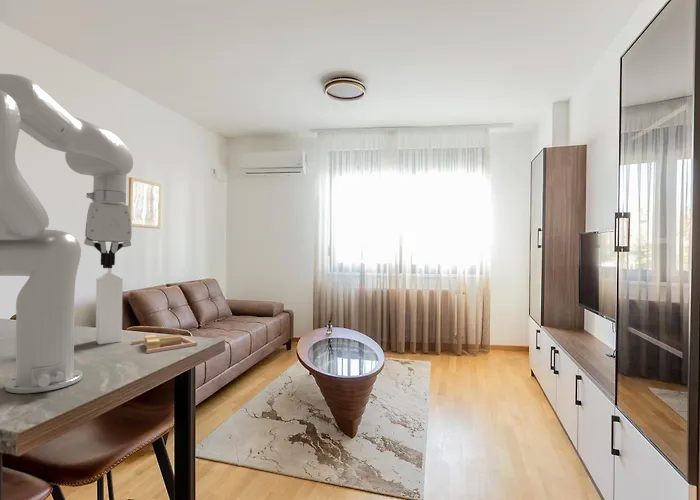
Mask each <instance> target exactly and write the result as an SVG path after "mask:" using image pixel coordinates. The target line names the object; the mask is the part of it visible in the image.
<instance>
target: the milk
mask: <svg viewBox="0 0 700 500" xmlns="http://www.w3.org/2000/svg"><path fill="white" fill-rule="evenodd" d="M95 285H96V288H95V289H96V291H95V294H96V296H95V298H96V299H95V301H96V302H95V303H96V304H95V308H96V309H95V342H96V343H97V344H98V345H104V344H105V345H106V344H112V343H113V344H114V343H122V342H123V285H124V284H123V278H122V277H120V276H118V275H115V274H114V273H112V268H107V271H106V273H104V274H102V275H99V276H98V277H97V278H96V284H95Z"/></svg>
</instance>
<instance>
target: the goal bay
mask: <svg viewBox="0 0 700 500" xmlns="http://www.w3.org/2000/svg"><path fill="white" fill-rule="evenodd" d="M179 335H180V336H181V342H184V343H181V344H179V345H173V346H166V347H160V348H153V349H146V351H145V353H146V354H150V353H151V354H152V353H153V354H154V353H157V352H165V351H169V350H177V349H182V348H187V347H193V346H194V347H195V346H198V342H197V341H195V340H192V339H190V338H188V337H186V336H183V335H181V334H179ZM138 344H139V345H140V344H144V338H143V339H138V340H131V345H138Z"/></svg>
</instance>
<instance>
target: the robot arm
mask: <svg viewBox="0 0 700 500" xmlns="http://www.w3.org/2000/svg"><path fill="white" fill-rule="evenodd" d="M20 130H21V131H23V132H24V133H25V134H27V135H28V136H30V137H31V138H33V139H34V140H36V141H37V142H38V143H40V144H41V145H43V146H45V147H46V148H49V149H52V150H56V151H59V152H62V153H65V154H64V155H65V157H64V159H65V161H66V164H67V165H68V166H67V167H68V168H70V169H71V170H72V171H73V172H75V173H77V174H80V175H85V176H91V177H92V178H93V184H92V185H93V188H92V192H86V198H87V199H90V200H91V202H89V206H88V209H87V213H86V219H85V221H86V222H85V231H84V233H85V239H84V241H83V243H84V245H86V246H88V247H89V246H90V247H94V248H95V249H96V250H97V251H98V252H99V253H100V266H102V268H103V269H108V268H111V269H112V268H113V266H115V265H116V262H115V261H116V253H117V252H118V251H119V250H121V249H122V248H126V247H130V246H132V241H131V240H132V235H133V234H132V232H133V231H132V229H133V228H132V216H131V215H132V214H131V209H130V206H129V204H128V205H127V204H126V203H127V174H129V173H131V171H132V170H133V166H134V159H133V158H134V157H133V155H132V153H131V150H130V149H129V147H128V146H127V145H126V144H125V142H123V141H122V140H121V138H119V137H118V136H117V135H115V134H114V133H113V132H111V131H109V130H108V129H105V128H103V127H100V126H98V125H95V124H93V123H90V122H89V121H86V120H84V119H81V118H78V117H76V116H73V115H71V113H69V112H68V111H67V110H66V109H65V108H64V107H62V105H60V104H59V103H58V102H57V101H56V100H55V99H53V97H52V96H51V95H49V94H48V93H47V92H46V91H45V90H44V89H43V88H42V87H40V86H39V84H37V83H36V82H34V81H33V80H31V79H29V78H27V77H26V76H25V77H24V76H23V75H19V74H18V75H17V74H14V73H13V74H11V73H0V276H4V277H5V276H7V277H10V276H11V277H16V276H17V277H29V278H28V279H27V281H26V282H25V283H24V285H23V286H22V287H21V289H20V291H19V292H18V295H17V297H16V304H15V314H16V315H15V377H12V378H10V379H9V380H8V381H6V382H5V384H4V390H5V391H6V392H9V393H12V394H33V393H34V394H35V393H43V392H50V391H53V390H54V391H55V390H58V389H61V388H62V389H63V388H65V387H69V386H71V385H74V384H76V383H78V382H79V381H81V380H82V378H83V371H82V370H80V369H75V367H74V366H75V365H74V364H75V363H74V362H75V361H74V360H75V292H76V291H75V290H76V289H75V288H76V280H77V279H76V278H77V274H78V269H79V265H80V262H81V256H82V255H81V254H82V253H81V252H82V249H81V248H82V247H81V244H80V242H79V240H78V239H77V237H75V236H73V235H72V234H71V233H68V232H67V231H66V232H65V231H63V230H58V229H48V227H49V224H50V222H49V221H50V218H49V215H48V212H47V211H46V209H45V207H44V205H43V204H42V203H41V201H40V200H39V198H38V197H37V196H36V193H35V192H34V191H33V190H32V188H31V187H30V185H29V184H28V182H27V181H26V180H25V178H24V176H23V175H22V173H21V172H20V170H19V168H18V165H17V162H16V149H17V142H18V137H19V132H20ZM107 242H109V243H110V247H109V250H107Z"/></svg>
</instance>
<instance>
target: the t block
mask: <svg viewBox="0 0 700 500" xmlns="http://www.w3.org/2000/svg"><path fill="white" fill-rule="evenodd" d="M180 335H181V334H173V335H172V334H171V335H162V336H157V334H151V335H149V334H148V335H144V337H143V339H144V343H143V344H144V346H145V348H146V350H147V349H153V348H160V347H166V346H173V345H179V344H182V340H181V336H182V335H181V336H180Z"/></svg>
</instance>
